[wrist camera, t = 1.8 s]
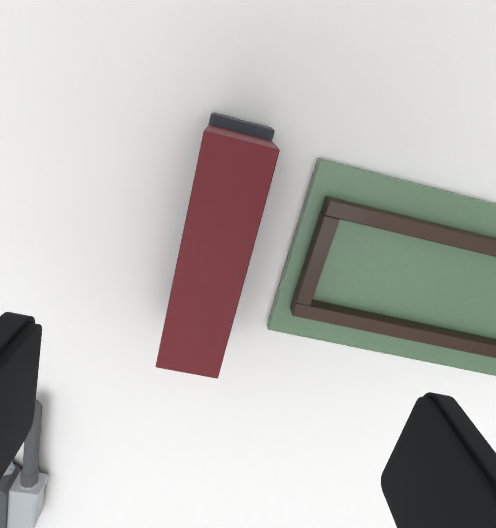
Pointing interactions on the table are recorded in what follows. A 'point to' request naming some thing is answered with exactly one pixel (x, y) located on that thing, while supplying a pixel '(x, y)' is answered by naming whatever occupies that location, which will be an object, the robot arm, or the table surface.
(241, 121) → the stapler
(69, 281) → the table surface
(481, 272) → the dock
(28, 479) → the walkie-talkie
